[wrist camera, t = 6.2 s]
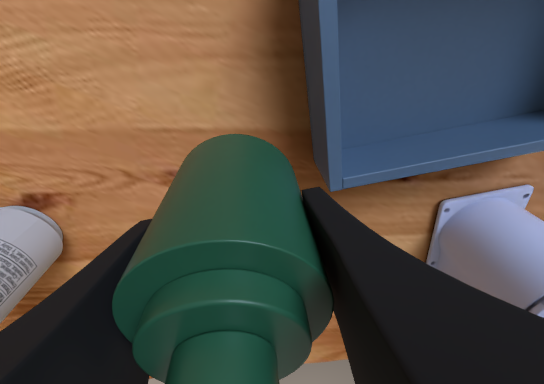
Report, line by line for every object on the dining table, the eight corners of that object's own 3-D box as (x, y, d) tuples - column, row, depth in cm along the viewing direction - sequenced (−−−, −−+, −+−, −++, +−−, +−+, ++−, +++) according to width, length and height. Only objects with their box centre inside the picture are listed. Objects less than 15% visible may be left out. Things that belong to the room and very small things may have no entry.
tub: (669, -181, 11) (890, -296, 7) (544, 115, 19) (622, 136, 15) (289, -93, 12) (308, -155, 8) (313, 160, 19) (330, 192, 15)
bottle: (302, 223, 12) (395, 558, 4) (201, 242, 12) (115, 598, 5) (287, 121, 10) (467, 542, 2) (157, 147, 10) (-257, 642, 2)
